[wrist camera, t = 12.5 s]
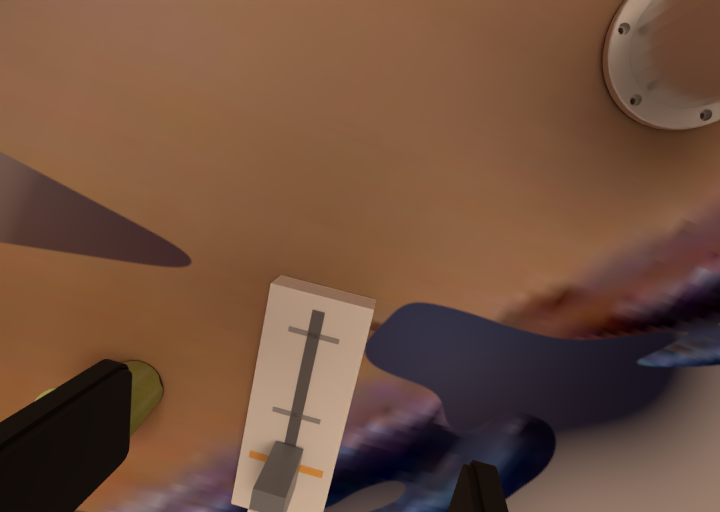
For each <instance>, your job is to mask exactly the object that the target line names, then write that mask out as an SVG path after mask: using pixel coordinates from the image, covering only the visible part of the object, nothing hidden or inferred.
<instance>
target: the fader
mask: <svg viewBox="0 0 720 512" xmlns="http://www.w3.org/2000/svg"><path fill="white" fill-rule="evenodd" d="M303 450H304V449H302V448H298V447H295V446H291V445H288V444H284V443H281V442H277V441H276V442H275V444H274V446H273V448H272V450H271V452H270V454H269V456H268V458H267V460H266V462H265V464H264V467H263V469H262V471H261V473H260V475H259V477H258V479H257V481H256V483H255V485H254V487H253V490H252V495H251V500H250V506H249V509H248V512H287V510H288V507H289V504H290V501H291V498H292V495H293V492H294V490H295V486H296V481H297V477H298V472H299V468H300V464H301V459H302V455H303Z"/></svg>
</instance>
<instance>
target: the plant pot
mask: <svg viewBox="0 0 720 512" xmlns="http://www.w3.org/2000/svg"><path fill="white" fill-rule="evenodd" d="M124 364H126V365H127V366H128V367H129V371H131V373H132V395H131V419H130V437H131V435H132V434H133V433H134V432H135V431H136V429H137V428H138V427H139V426H140V424H141V423H142V422H143V421H144V420H145V418H146V417H147V416H148V415H149V413H150V412H151V411H152V410H153V409H154V407H155V406H156V405H157V404H158V403H159V401H160V400H161V398H162V394H163V387H162V386H161V383H160V380H159V375H158V373H157V372H156V371H155V370H154V369H153V368H152V367H151V366H149V365H147V364H146V363H143V362H140V361H129V362H124ZM56 388H57V387H54V388H51V389H49V390H47V391H45V392H43V393H42V394H41V395H39V396H38V397H37V398H36V400H38V399H39V398H41V397H43V396H44V395H46V394H48V393H49V392H51V391H52V390H54V389H56ZM36 400H35V401H36Z"/></svg>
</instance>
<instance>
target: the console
mask: <svg viewBox="0 0 720 512" xmlns="http://www.w3.org/2000/svg"><path fill="white" fill-rule="evenodd" d="M376 300H377V299H373V298H369V297H365V296H361V295H357V294H353V293H349V292H346V291H342V290H338V289H334V288H330V287H326V286H322V285H318V284H314V283H311V282H307V281H303V280H299V279H295V278H291V277H287V276H283V275H280V276H279V277H278V278H277V279H275V280H274V281H273V282H272V283H271V285H270V291H269V296H268V302H267V308H266V313H265V319H264V324H263V330H262V335H261V341H260V346H259V352H258V358H257V363H256V369H255V374H254V380H253V385H252V391H251V396H250V402H249V408H248V413H247V419H246V424H245V430H244V435H243V441H242V447H241V452H240V458H239V463H238V469H237V474H236V480H235V485H234V491H233V497H232V502H231V504H234V505H238V506H241V507H244V508H248V509H249V506H250V500H251V495H252V490H253V487H254V485H255V483H256V481H257V479H258V477H259V475H260V473H261V471H262V469H263V467H264V464H265V462H266V460H267V458H268V456H269V454H270V452H271V450H272V448H273V446H274V444H275V442H276V441H277V442H281V443H284V444H288V445H291V446H295V447H298V448H302V449H304V450H303V455H302V459H301V464H300V468H299V472H298V477H297V481H296V486H295V490H294V492H293V495H292V498H291V501H290V504H289V507H288V510H287V512H323V511H324V507H325V503H326V499H327V495H328V491H329V487H330V483H331V479H332V475H333V471H334V467H335V463H336V460H337V456H338V452H339V448H340V444H341V440H342V436H343V432H344V428H345V424H346V420H347V416H348V412H349V408H350V404H351V400H352V396H353V392H354V388H355V384H356V380H357V376H358V372H359V368H360V365H361V361H362V357H363V353H364V349H365V345H366V341H367V337H368V333H369V329H370V325H371V321H372V317H373V313H374V309H375V305H376Z"/></svg>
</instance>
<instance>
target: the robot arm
mask: <svg viewBox="0 0 720 512" xmlns="http://www.w3.org/2000/svg"><path fill="white" fill-rule="evenodd" d="M618 30H619V31H620V32H621V33H620V34H619V32H618ZM603 72H604V78H605V83H606V85H607V87H608V90H609V92H610V95H611V97H612V98H613V100H614V101H615V102H616V104H617V105H618V107H619V108H620V109H621V110H622V111H623V112H624V113H626V114H627V115H628V116H629V117H630V118H632V119H634V120H635V121H637V122H639V123H641V124H643V125H646V126H649V127H652V128H655V129H663V130H684V129H691V128H696V127H702V126H705V125H708V124H711V123H714V122H717V121H720V0H624V2H623V3H622V4H621V6H620V8H619V9H618V11H617V13H616V14H615V16H614V18H613V19H612V22H611V24H610V27H609V30H608V32H607V35H606V39H605V44H604V49H603ZM630 99H631V100H632V104H631V103H630ZM131 395H132V373H131V371H129V367H128V366H127V365H126V364H124V363H120V362H116V361H113V360H109V359H104V360H102V361H100V362H98V363H97V364H95V365H93V366H92V367H90V368H88V369H87V370H85V371H84V372H82V373H80V374H79V375H77V376H75V377H74V378H72V379H70V380H69V381H67V382H66V383H64V384H62V385H61V386H59V387H57V388H56V389H54V390H52V391H51V392H49V393H48V394H46V395H44V396H43V397H41V398H39V399H38V400H36V401H34V402H33V403H31V404H30V405H28V406H26V407H25V408H23V409H21V410H20V411H18V412H16V413H15V414H13V415H12V416H10V417H8V418H7V419H5V420H3V421H2V422H0V512H74V511H75V510H76V509H77V508H78V507H79V506H80V505H81V504H82V503H83V502H84V501H85V500H86V499H87V498H88V497H89V496H90V495H91V494H92V493H93V492H94V491H95V490H96V489H97V488H98V487H99V486H100V485H101V484H102V483H103V482H104V481H105V480H106V479H107V478H108V477H109V476H110V475H111V474H112V473H113V472H114V471H115V470H116V469H117V468H118V467H119V466H120V465H121V463H122V462H123V461H124V460H125V458H126V456H127V454H128V451H129V442H130V419H131ZM448 512H508V508H507V504H506V501H505V497H504V493H503V489H502V486H501V482H500V478H499V474H498V471H497V468H496V467H495V466H493V465H489V464H486V463H482V462H478V461H475V460H472V462H471V463H470V465H466V464H464V465H463V466H462V469H461V472H460V475H459V478H458V481H457V484H456V487H455V490H454V493H453V497H452V500H451V503H450V506H449V509H448Z"/></svg>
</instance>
